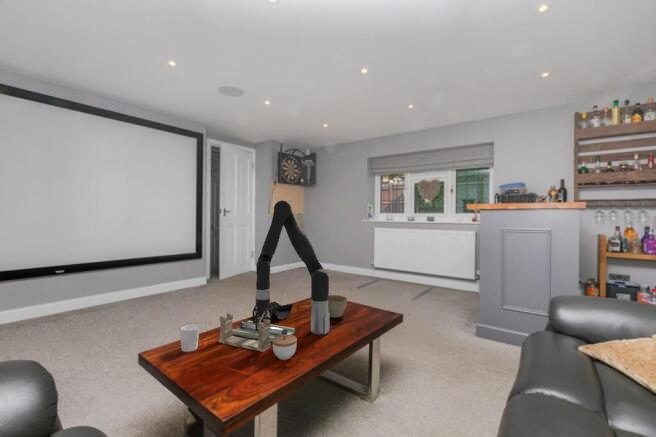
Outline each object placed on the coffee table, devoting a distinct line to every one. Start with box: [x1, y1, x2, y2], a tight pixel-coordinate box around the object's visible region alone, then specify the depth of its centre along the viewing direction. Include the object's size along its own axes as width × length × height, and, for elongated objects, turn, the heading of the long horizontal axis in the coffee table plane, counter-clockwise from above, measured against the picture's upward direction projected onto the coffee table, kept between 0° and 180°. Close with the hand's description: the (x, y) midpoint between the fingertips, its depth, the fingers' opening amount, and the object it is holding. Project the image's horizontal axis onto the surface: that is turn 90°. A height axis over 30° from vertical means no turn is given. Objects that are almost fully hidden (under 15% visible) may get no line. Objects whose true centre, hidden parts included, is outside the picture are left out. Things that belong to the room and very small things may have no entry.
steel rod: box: [238, 321, 287, 335], centre depth 156 cm, size 28×3×3 cm, turn 68°
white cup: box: [179, 324, 200, 353], centre depth 137 cm, size 8×8×10 cm
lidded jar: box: [271, 334, 298, 361], centre depth 131 cm, size 11×11×9 cm
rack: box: [218, 313, 272, 353], centre depth 143 cm, size 26×6×12 cm, turn 67°
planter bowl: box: [328, 294, 348, 319], centre depth 186 cm, size 16×16×11 cm
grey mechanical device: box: [251, 301, 293, 320], centre depth 183 cm, size 18×20×9 cm
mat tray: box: [232, 320, 296, 343], centre depth 157 cm, size 30×15×2 cm, turn 67°
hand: (262, 327), depth 157 cm, fingers open, 8 cm apart
